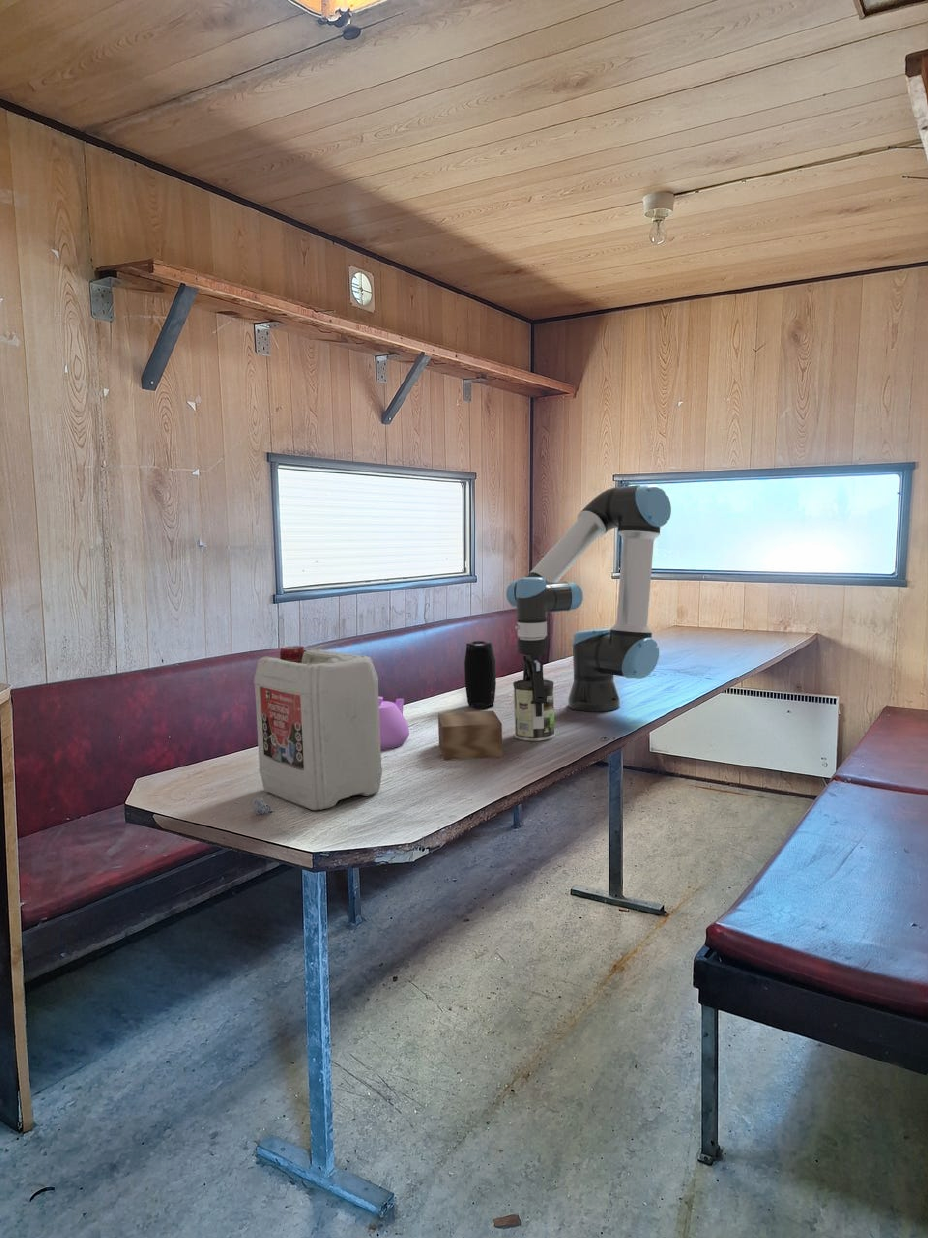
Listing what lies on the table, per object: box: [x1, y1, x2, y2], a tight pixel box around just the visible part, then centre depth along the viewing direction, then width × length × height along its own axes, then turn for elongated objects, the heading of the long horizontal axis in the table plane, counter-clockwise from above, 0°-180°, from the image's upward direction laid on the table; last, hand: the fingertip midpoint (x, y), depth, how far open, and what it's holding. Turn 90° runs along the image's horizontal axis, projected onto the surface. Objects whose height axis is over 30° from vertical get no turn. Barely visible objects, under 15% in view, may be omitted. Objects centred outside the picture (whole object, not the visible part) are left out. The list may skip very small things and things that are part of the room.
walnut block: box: [437, 710, 504, 761], centre depth 195 cm, size 14×14×8 cm
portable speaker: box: [463, 640, 497, 710], centre depth 243 cm, size 9×9×20 cm
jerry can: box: [253, 645, 383, 811], centre depth 166 cm, size 24×19×30 cm
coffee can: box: [512, 678, 555, 742], centre depth 207 cm, size 10×10×14 cm
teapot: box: [378, 695, 410, 751], centre depth 205 cm, size 22×16×12 cm
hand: (534, 723), depth 207 cm, fingers closed on coffee can, 10 cm apart
